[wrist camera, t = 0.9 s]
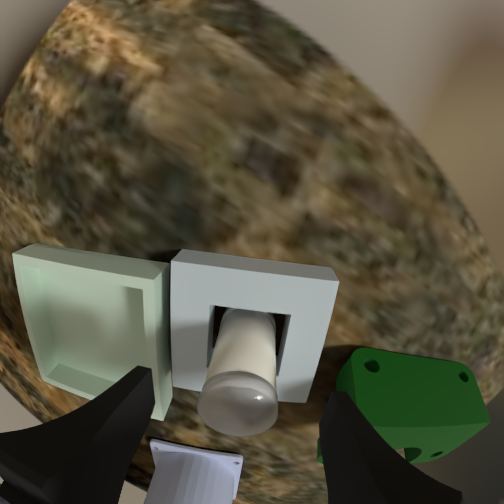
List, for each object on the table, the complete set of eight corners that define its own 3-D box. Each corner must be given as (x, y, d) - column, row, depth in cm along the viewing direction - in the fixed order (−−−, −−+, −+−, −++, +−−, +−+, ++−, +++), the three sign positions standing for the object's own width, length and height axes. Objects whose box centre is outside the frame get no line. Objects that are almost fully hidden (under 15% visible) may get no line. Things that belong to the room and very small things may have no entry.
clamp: (332, 364, 23) (286, 451, 15) (367, 312, 20) (328, 410, 12) (442, 418, 19) (427, 506, 12) (486, 376, 16) (489, 475, 8)
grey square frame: (303, 381, 18) (305, 402, 16) (180, 366, 18) (172, 386, 16) (331, 267, 16) (339, 281, 14) (182, 249, 16) (171, 260, 14)
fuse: (271, 349, 17) (271, 439, 11) (220, 342, 17) (197, 430, 11) (279, 303, 16) (284, 389, 10) (223, 296, 16) (197, 378, 10)
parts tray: (172, 396, 19) (163, 420, 17) (58, 363, 19) (42, 380, 17) (169, 263, 16) (153, 279, 14) (35, 242, 16) (12, 253, 14)
